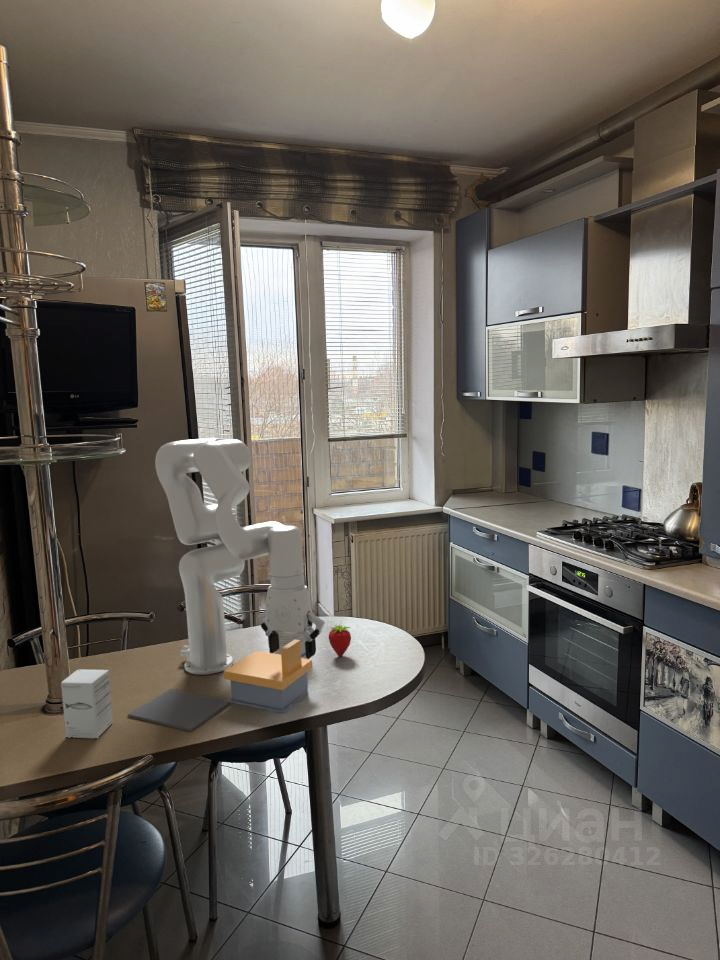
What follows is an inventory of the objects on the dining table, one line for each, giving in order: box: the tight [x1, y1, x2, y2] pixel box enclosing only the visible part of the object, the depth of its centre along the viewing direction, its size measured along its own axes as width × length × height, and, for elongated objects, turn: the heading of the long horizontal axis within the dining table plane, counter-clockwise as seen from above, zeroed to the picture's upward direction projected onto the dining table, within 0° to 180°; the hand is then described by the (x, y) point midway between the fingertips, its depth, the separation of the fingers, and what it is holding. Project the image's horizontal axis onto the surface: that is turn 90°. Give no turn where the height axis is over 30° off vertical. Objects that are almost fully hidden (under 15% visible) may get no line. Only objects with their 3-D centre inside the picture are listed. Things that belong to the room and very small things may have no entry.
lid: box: [223, 639, 313, 690], centre depth 159 cm, size 16×13×8 cm
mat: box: [127, 688, 232, 732], centre depth 156 cm, size 18×14×1 cm
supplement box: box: [60, 669, 114, 739], centre depth 147 cm, size 7×7×13 cm
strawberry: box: [328, 620, 352, 658], centre depth 183 cm, size 6×8×10 cm
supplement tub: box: [273, 631, 308, 659], centre depth 182 cm, size 10×10×15 cm
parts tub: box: [229, 671, 309, 714], centre depth 160 cm, size 14×11×7 cm
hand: (292, 653), depth 155 cm, fingers open, 9 cm apart
